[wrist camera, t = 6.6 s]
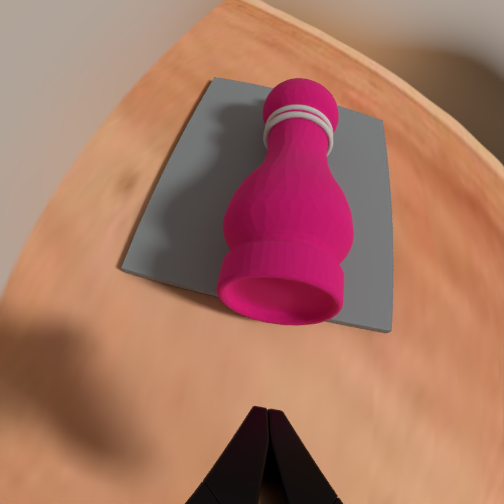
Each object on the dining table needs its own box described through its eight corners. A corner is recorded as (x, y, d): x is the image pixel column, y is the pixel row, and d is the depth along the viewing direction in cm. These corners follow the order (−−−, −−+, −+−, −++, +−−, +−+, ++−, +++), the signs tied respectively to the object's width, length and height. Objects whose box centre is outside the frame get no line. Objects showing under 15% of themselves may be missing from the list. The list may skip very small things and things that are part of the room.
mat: (387, 333, 20) (391, 330, 20) (123, 271, 20) (121, 268, 19) (380, 124, 30) (382, 120, 30) (214, 81, 30) (214, 77, 30)
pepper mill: (187, 301, 17) (248, 97, 28) (297, 336, 20) (313, 133, 30) (246, 247, 12) (289, 39, 22) (384, 305, 14) (359, 84, 24)
